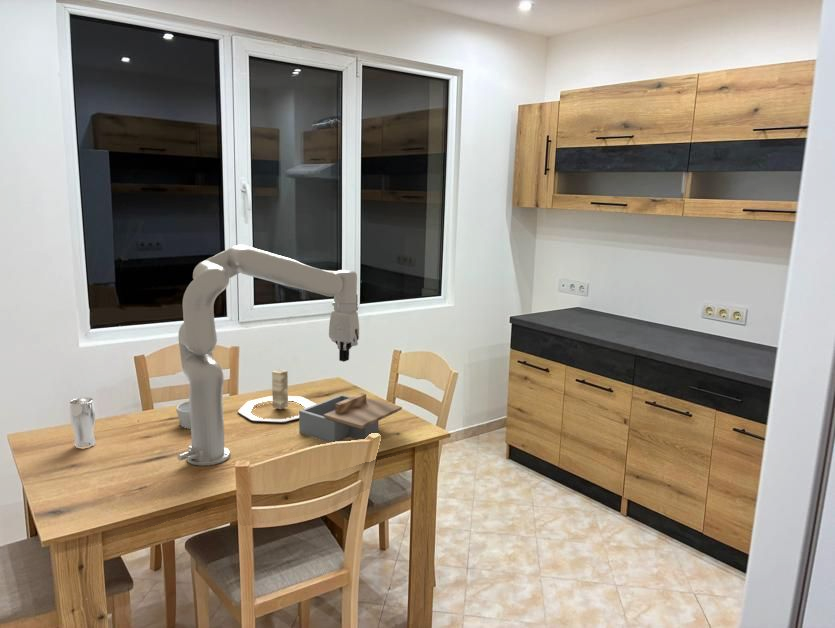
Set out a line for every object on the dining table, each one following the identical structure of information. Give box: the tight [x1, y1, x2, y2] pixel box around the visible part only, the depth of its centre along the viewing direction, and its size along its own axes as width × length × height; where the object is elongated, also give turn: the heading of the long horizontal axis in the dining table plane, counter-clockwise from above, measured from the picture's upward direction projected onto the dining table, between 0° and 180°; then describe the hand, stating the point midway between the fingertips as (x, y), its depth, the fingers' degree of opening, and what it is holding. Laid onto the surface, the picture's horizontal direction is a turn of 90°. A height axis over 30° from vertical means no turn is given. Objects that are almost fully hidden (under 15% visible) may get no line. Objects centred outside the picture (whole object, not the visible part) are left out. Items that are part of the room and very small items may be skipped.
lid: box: [324, 392, 403, 429], centre depth 205 cm, size 22×16×4 cm
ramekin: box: [176, 400, 191, 430], centre depth 213 cm, size 13×13×7 cm
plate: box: [237, 395, 317, 424], centre depth 229 cm, size 28×28×2 cm
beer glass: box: [69, 396, 97, 447], centre depth 192 cm, size 7×7×15 cm
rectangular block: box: [271, 368, 289, 410], centre depth 229 cm, size 4×4×14 cm
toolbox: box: [298, 393, 379, 443], centre depth 210 cm, size 22×23×8 cm
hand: (344, 360), depth 206 cm, fingers closed
